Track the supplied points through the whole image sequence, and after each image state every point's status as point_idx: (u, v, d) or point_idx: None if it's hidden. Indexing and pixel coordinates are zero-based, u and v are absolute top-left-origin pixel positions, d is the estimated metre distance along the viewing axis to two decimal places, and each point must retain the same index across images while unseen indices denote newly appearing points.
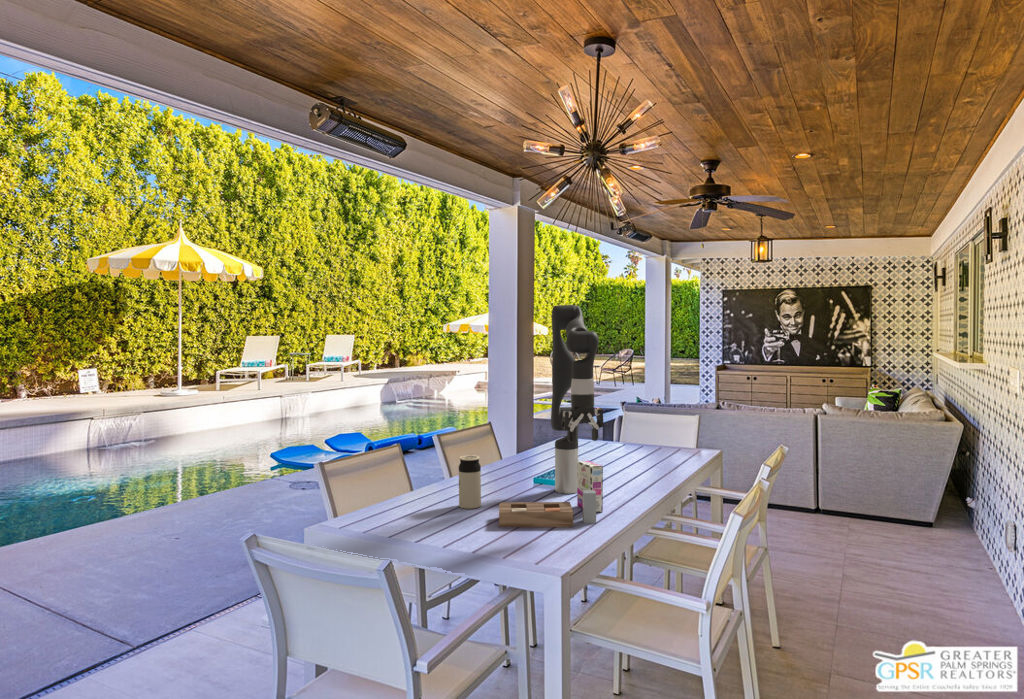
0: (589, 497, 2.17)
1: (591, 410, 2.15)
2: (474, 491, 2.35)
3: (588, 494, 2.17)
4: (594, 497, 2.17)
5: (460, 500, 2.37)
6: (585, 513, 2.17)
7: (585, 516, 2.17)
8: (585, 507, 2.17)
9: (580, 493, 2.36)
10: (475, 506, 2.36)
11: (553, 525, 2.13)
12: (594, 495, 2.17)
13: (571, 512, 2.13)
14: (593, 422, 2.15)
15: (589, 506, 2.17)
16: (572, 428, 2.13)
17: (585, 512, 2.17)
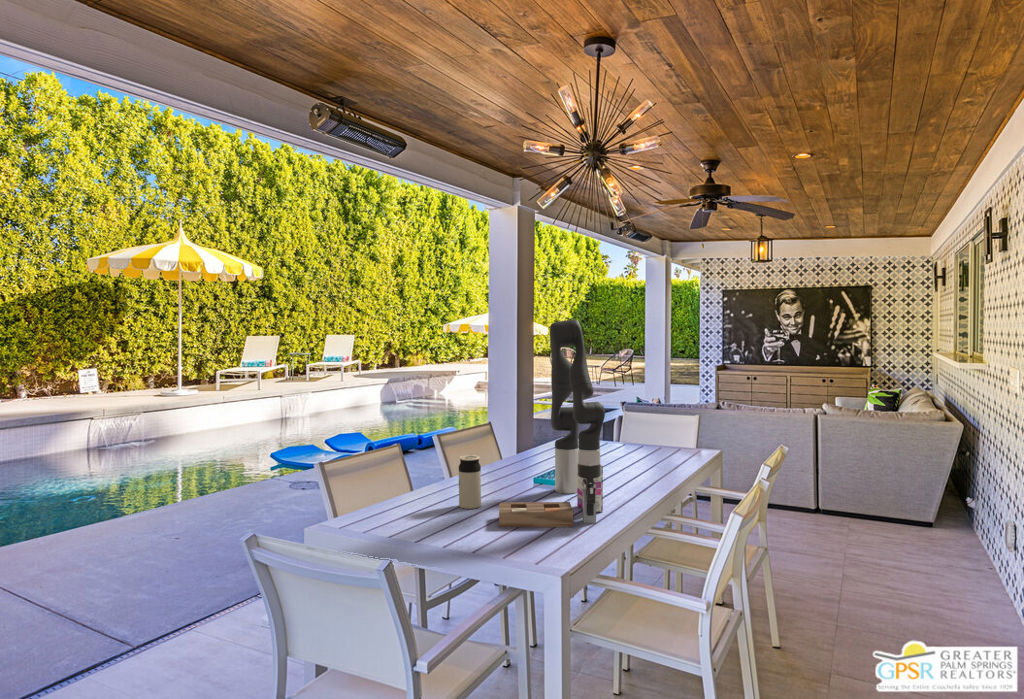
0: None
1: None
2: (474, 491, 2.35)
3: None
4: None
5: (460, 500, 2.37)
6: (585, 513, 2.17)
7: (585, 516, 2.17)
8: (585, 507, 2.17)
9: (580, 493, 2.36)
10: (475, 506, 2.36)
11: (553, 525, 2.13)
12: None
13: (571, 512, 2.13)
14: None
15: None
16: None
17: (585, 512, 2.17)
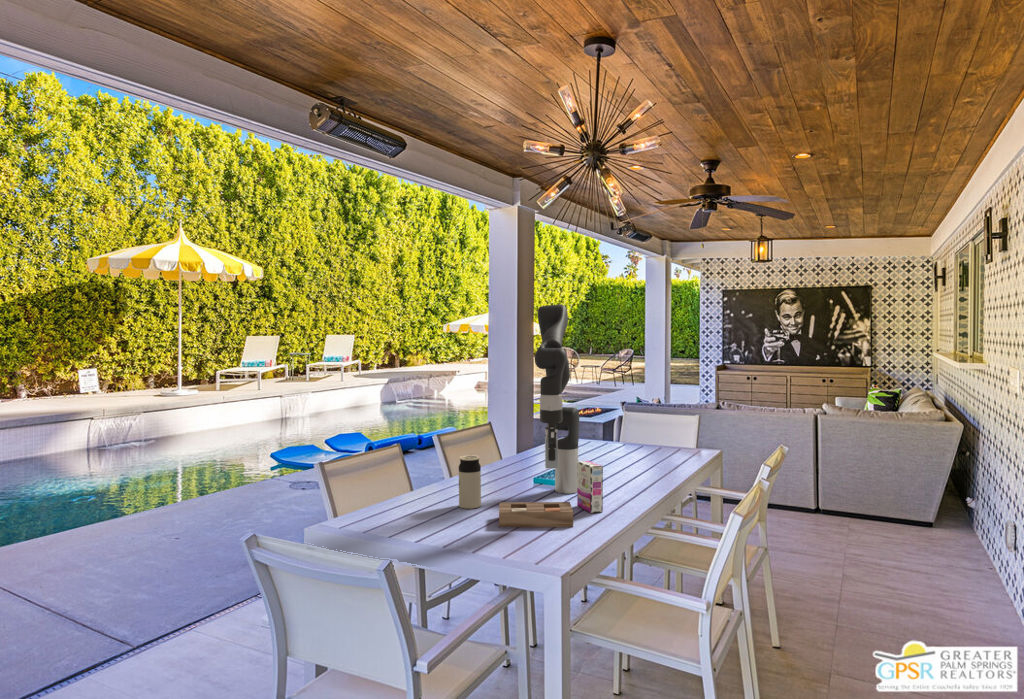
0: (551, 442, 2.17)
1: None
2: (474, 491, 2.35)
3: None
4: (556, 442, 2.17)
5: (460, 500, 2.37)
6: (547, 458, 2.17)
7: (547, 461, 2.18)
8: (547, 452, 2.17)
9: (580, 493, 2.36)
10: (475, 506, 2.36)
11: (553, 525, 2.13)
12: None
13: (571, 512, 2.13)
14: None
15: None
16: None
17: (547, 457, 2.17)
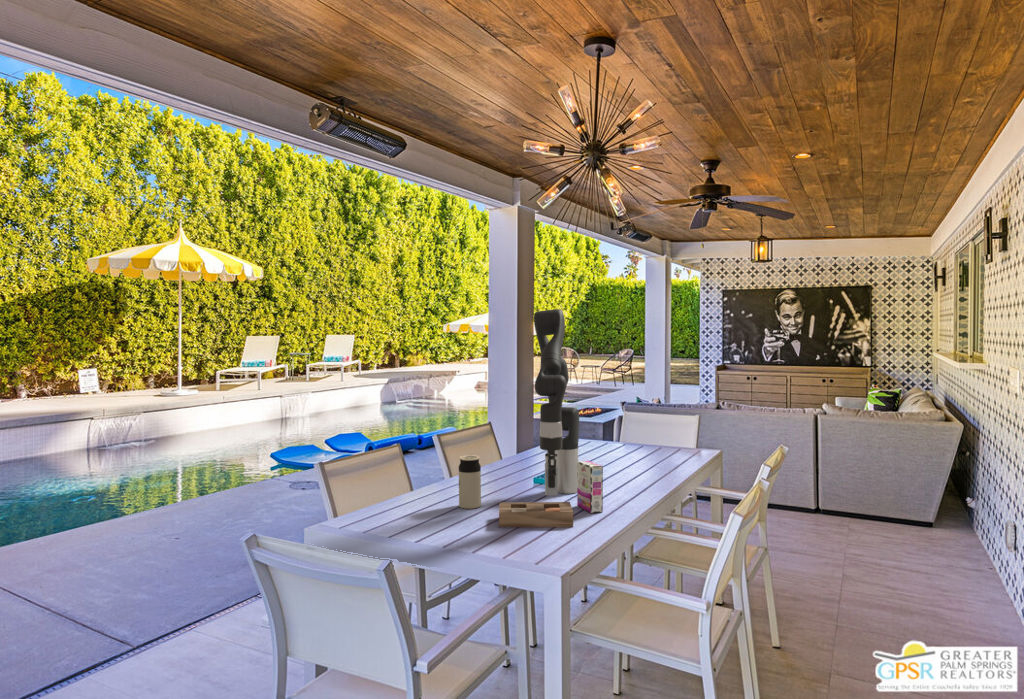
0: None
1: None
2: (474, 491, 2.35)
3: None
4: None
5: (460, 500, 2.37)
6: (546, 485, 2.18)
7: (546, 488, 2.18)
8: (546, 479, 2.18)
9: (580, 493, 2.36)
10: (475, 506, 2.36)
11: (553, 525, 2.13)
12: None
13: (571, 512, 2.13)
14: None
15: None
16: None
17: (546, 484, 2.18)
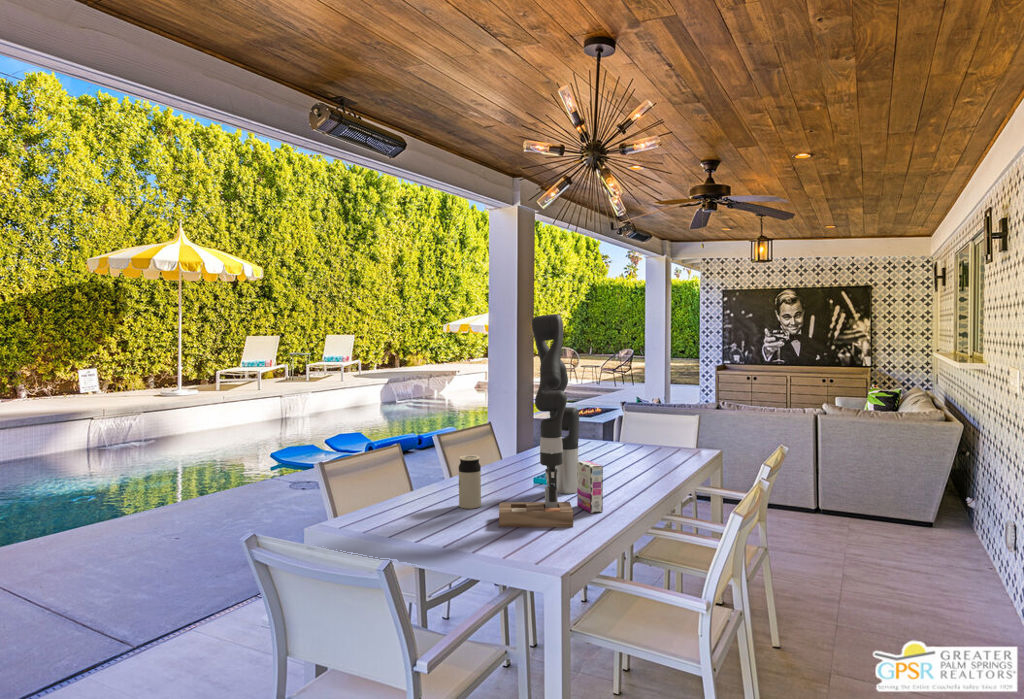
0: None
1: None
2: (474, 491, 2.35)
3: None
4: None
5: (460, 500, 2.37)
6: None
7: None
8: (546, 503, 2.18)
9: (580, 493, 2.36)
10: (475, 506, 2.36)
11: (553, 525, 2.13)
12: None
13: (571, 512, 2.13)
14: None
15: (550, 502, 2.18)
16: None
17: None
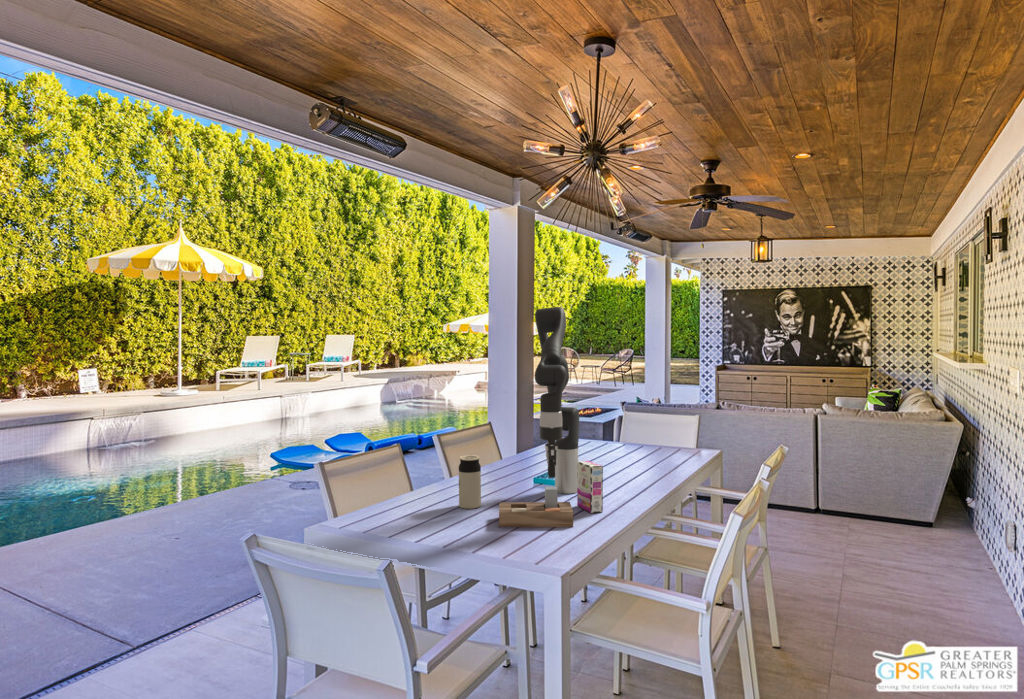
0: (551, 493, 2.18)
1: None
2: (474, 491, 2.35)
3: (549, 490, 2.18)
4: (555, 493, 2.18)
5: (460, 500, 2.37)
6: None
7: None
8: (546, 503, 2.18)
9: (580, 493, 2.36)
10: (475, 506, 2.36)
11: (553, 525, 2.13)
12: (555, 491, 2.18)
13: (571, 512, 2.13)
14: None
15: (550, 502, 2.18)
16: None
17: None
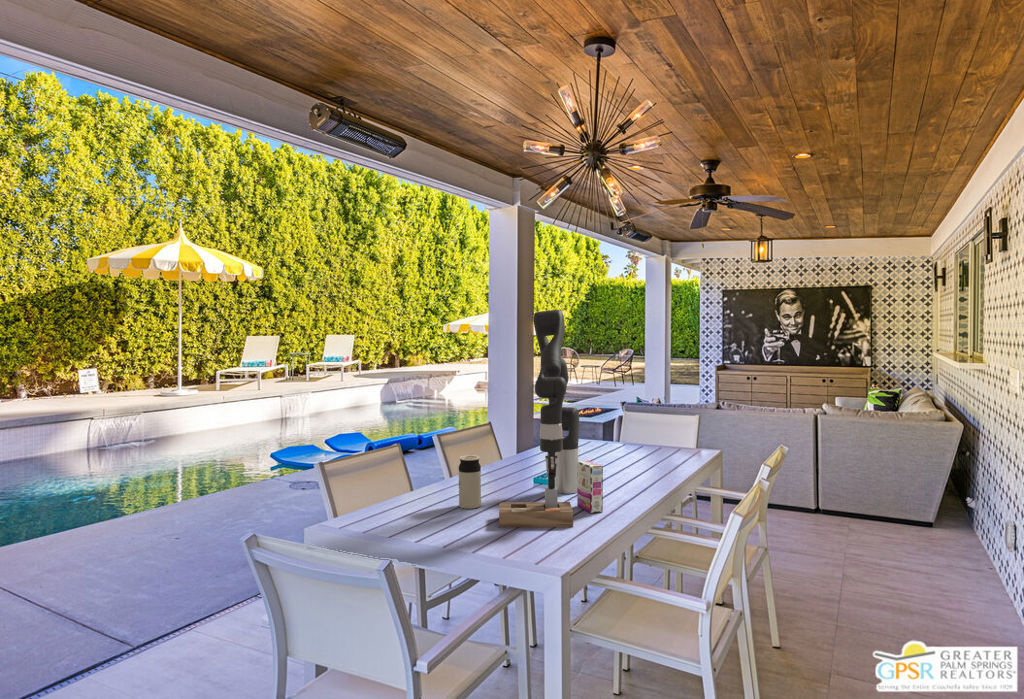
0: (551, 493, 2.18)
1: None
2: (474, 491, 2.35)
3: (549, 490, 2.18)
4: (555, 493, 2.18)
5: (460, 500, 2.37)
6: None
7: None
8: (546, 503, 2.18)
9: (580, 493, 2.36)
10: (475, 506, 2.36)
11: (553, 525, 2.13)
12: (555, 491, 2.18)
13: (571, 512, 2.13)
14: None
15: (550, 502, 2.18)
16: None
17: None
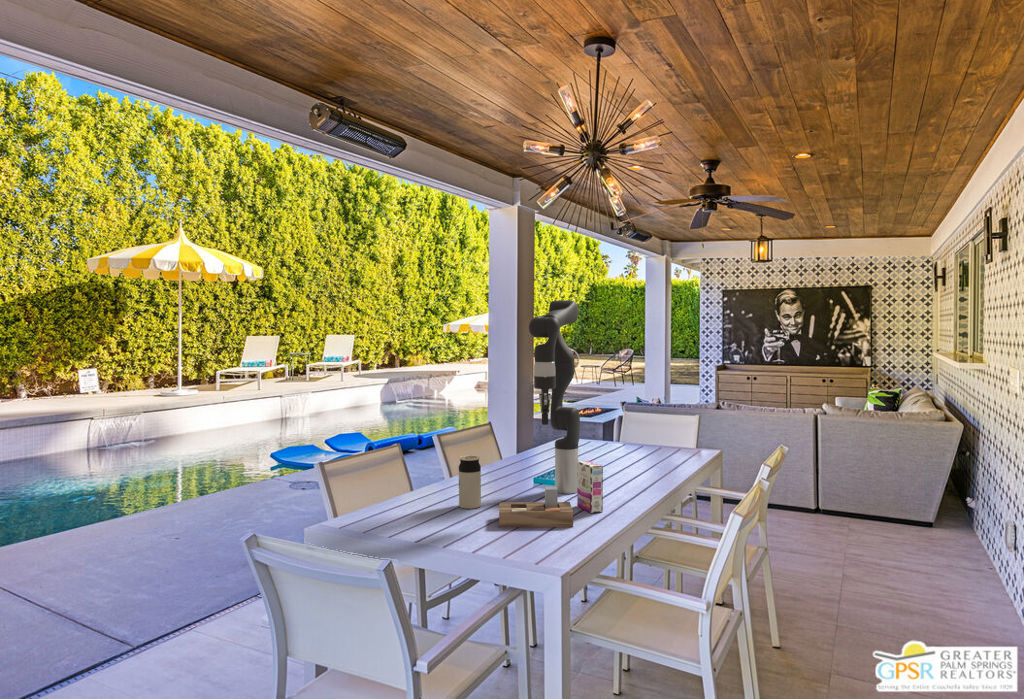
0: (551, 493, 2.18)
1: None
2: (474, 491, 2.35)
3: (549, 490, 2.18)
4: (555, 493, 2.18)
5: (460, 500, 2.37)
6: None
7: None
8: (546, 503, 2.18)
9: (580, 493, 2.36)
10: (475, 506, 2.36)
11: (553, 525, 2.13)
12: (555, 491, 2.18)
13: (571, 512, 2.13)
14: None
15: (550, 502, 2.18)
16: None
17: None
